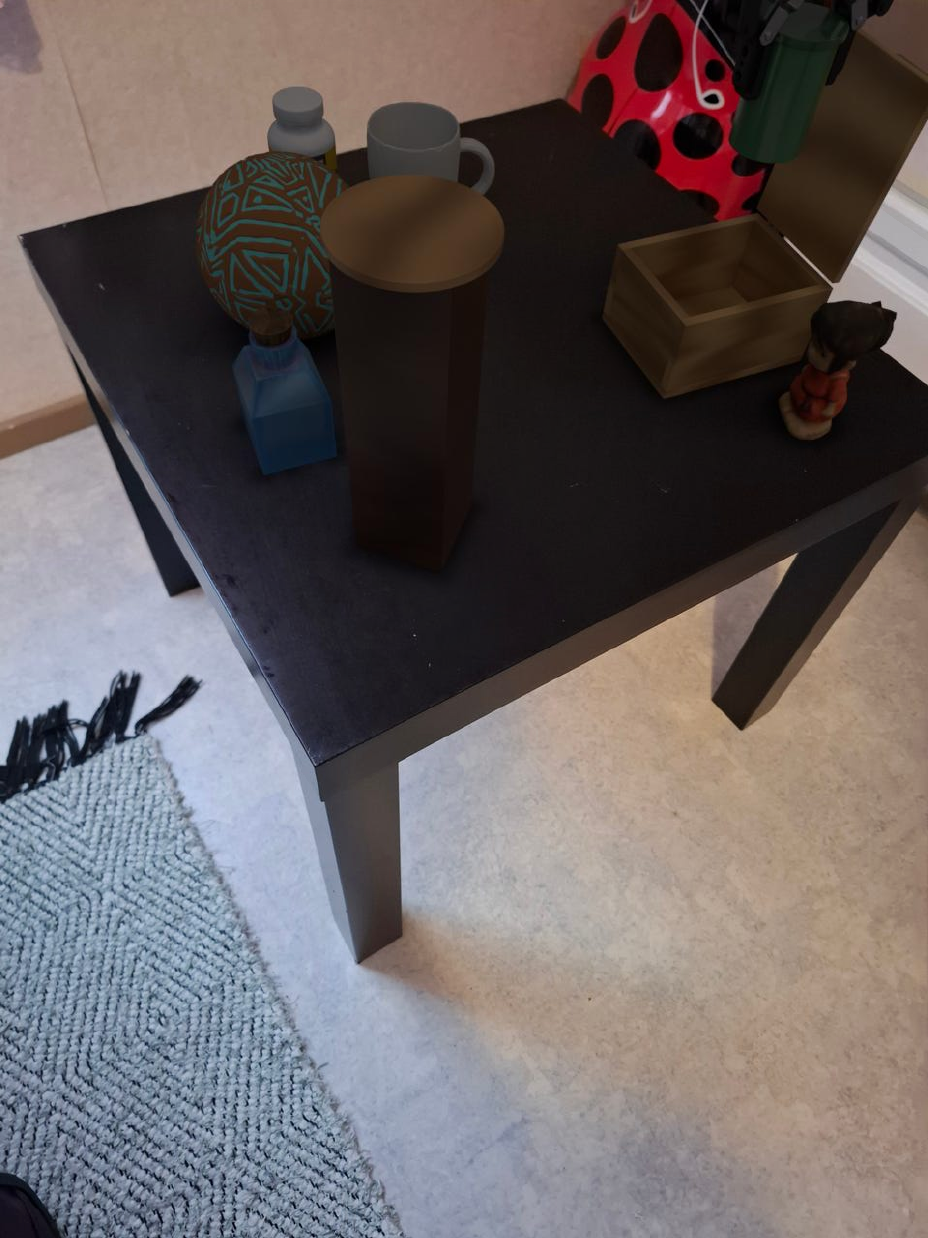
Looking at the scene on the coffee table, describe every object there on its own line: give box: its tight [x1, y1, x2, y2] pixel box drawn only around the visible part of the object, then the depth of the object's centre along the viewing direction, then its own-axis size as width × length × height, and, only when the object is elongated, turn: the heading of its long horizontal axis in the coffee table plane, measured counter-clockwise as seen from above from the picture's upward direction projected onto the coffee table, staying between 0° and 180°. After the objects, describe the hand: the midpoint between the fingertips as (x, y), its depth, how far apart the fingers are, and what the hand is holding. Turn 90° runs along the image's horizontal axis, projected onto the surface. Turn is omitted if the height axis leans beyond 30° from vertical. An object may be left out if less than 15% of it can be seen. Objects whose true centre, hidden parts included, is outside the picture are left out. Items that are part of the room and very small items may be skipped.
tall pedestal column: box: [320, 175, 505, 574], centre depth 58 cm, size 10×10×26 cm
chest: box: [601, 212, 834, 400], centre depth 80 cm, size 15×12×8 cm
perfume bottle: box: [231, 307, 338, 476], centre depth 68 cm, size 6×6×12 cm
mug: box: [366, 101, 495, 197], centre depth 87 cm, size 13×9×10 cm
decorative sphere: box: [195, 151, 351, 341], centre depth 75 cm, size 15×15×15 cm
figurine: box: [778, 299, 898, 441], centre depth 73 cm, size 6×6×12 cm
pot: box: [727, 1, 849, 165], centre depth 64 cm, size 6×6×8 cm
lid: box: [756, 27, 928, 285], centre depth 72 cm, size 16×12×5 cm
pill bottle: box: [266, 86, 339, 175], centre depth 86 cm, size 6×6×12 cm
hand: (782, 87), depth 64 cm, fingers closed on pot, 6 cm apart
